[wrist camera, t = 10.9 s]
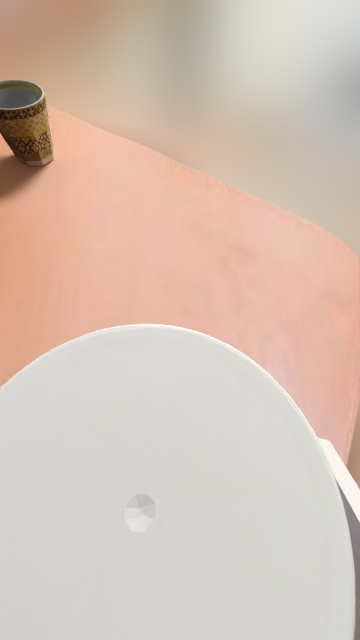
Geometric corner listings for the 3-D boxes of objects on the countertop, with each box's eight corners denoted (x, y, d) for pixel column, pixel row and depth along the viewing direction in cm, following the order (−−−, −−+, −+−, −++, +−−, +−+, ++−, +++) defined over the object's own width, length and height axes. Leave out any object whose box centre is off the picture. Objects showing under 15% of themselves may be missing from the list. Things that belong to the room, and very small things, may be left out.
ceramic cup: (74, 154, 52) (56, 93, 43) (35, 179, 48) (7, 116, 39) (27, 131, 55) (2, 68, 46) (-13, 152, 50) (-50, 87, 41)
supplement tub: (247, 500, 18) (479, 613, 5) (124, 606, 15) (-79, 1517, 2) (175, 382, 21) (200, 269, 9) (63, 449, 19) (-156, 435, 6)
